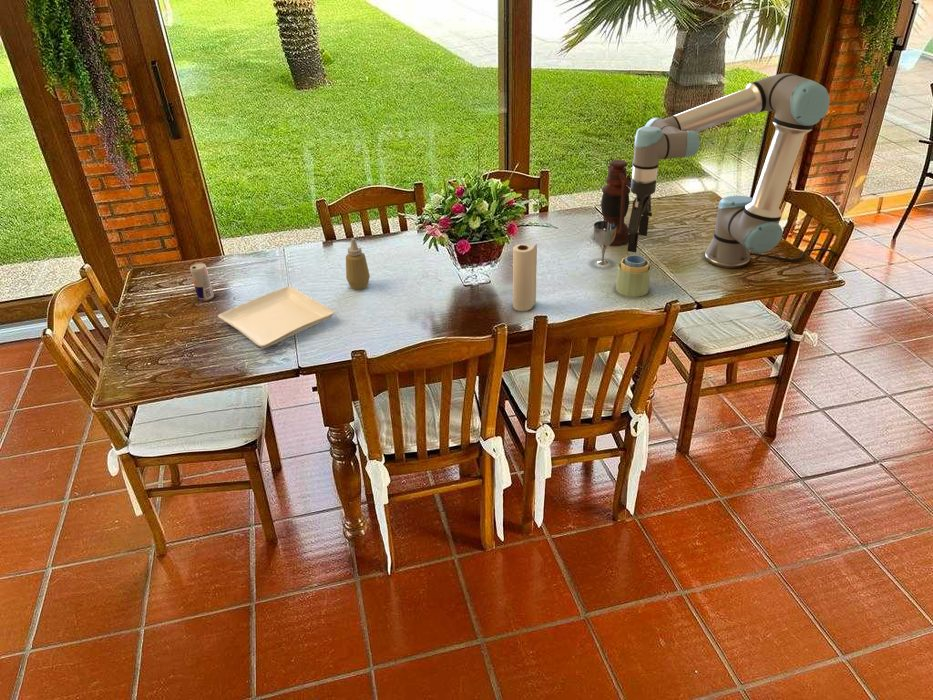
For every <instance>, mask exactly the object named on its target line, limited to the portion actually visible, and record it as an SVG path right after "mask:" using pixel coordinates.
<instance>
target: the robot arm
mask: <svg viewBox="0 0 933 700" xmlns="http://www.w3.org/2000/svg"><path fill="white" fill-rule="evenodd" d="M830 99H831V98H830V94H829V92H828V90H827V88H826V87H825V86H823V85H822V84H820V83H819V82H817V81H816V80H812V79H809V78H806V77H803V76H799V75H798V74H794V73H790V72H789V73H785V72H784V73H778V74H774V75H770V76H767V77H763V78H761V79H757V80H755V81H753V82H750V83H748V84H746V87H745V88H743V89H741V90H738V91H736V92H733V93H730V94H727V95H725V96H723V97H720V98H717V99H714V100H711V101H708V102H705V103H704V104H701V105H698V106H695V107H693V108H690V109H687V110H685V111H682V112H680V113H677V114H674V115H671V116H669V117H666V118H662V117H652V118H650V119H649V120H648V121H647V122H646V124H645V125H644V126H642V127H639V128H638V129H637V130H636V133H635V137H634V143H633V146H634V149H633V162H632V167H631V168H630V171H631V172H632V173H631V188H630V193H632V194H634V195H635V196H636V197H635V198H634V199H633V201H632V207H631V211H630V218H629V222H628V226H627V227H628V230H627V231H626V232H627V233H629V239H628V243H627V252H628V253H637V251H638V241H639V239H638V238H639V236H642V237H643V236H644V237H647V236H648V230H649V229H648V228H649V221H650V217H652V215H653V212H652V195H653V194H655V192H656V188H657V179H658V172H659V163H660V160H669V159H680V158H688V157H693V156H695V155H697V154H698V152H699V151H700V144H701V140H700V135H699V134H698V133H699V132H702V131H704V130H707V129H710V128H712V127H713V128H714V127H716V126H718V125H720V124H724V123H727V122H729V121H732V120H734V119H737V118H739V117H743V116H745V115H748V114H751V113H753V114H755V115H757V114H761V113H762V112H774V117H773V119H772V124H773V126H774V128H775V130H774V133H773V137H772V139H771V142H770V145H769V148H768V151H767V154H766V157H765V161H764V163H763V166H762V169H761V171H760V176H759V178H758V181H757V184H756V187H755V191H754V193H753V197H751V196H747V195H746V196H745V195H729V196H725V197H723V198H721V199H720V201H719V203H718V207H717V214H716V221H715V227H714V232H713V237H712V239H711V241H710V243H709V245H708V246H707V248H706V250H705V253H704V254H705V255H704V258H705V261H707V262H708V263H709V264H711V265H714V266H716V267H719V268H722V269H723V268H724V269H741V268H743V267H746V266H748V265H749V264H750V260H751V256H756V257H763V258H764V257H765V258H771V259H777V260H783V261H790V262H793V261H795V262H796V261H799V260H802V259H803V257H804V256H805V255H806V253H808V252H809V253H810V252H817V251H818V252H820V251H823V252H829V253H831V254H833V255H834V256H838V254H837V252H835V251H834V250H832V249H828V248H811V249H806V250H804V251H803V252H802V253H801V255H800V256H799V257H797V258H787V257H781V256H776V255H771V254H770V255H769V254H766V253H767V252H770V251H771V250H772V249H775V247H777V246H778V244H779V243H780V242H781V240H782V238H783V234H784V233H783V228H782V227H781V225H780V221H781V218H782V216H783V215H782V211H781V209H780V206H781V203H782V201H783V198H784V195H785V192H786V189H787V186H788V183H789V181H790V178H791V175H792V171H793V169H794V167H795V163H796V161H797V158H798V154H799V152H800V150H801V147H802V143H803V141H804V138H805V136H806V134H808V133H810V132H811V131H813V128H814V125H816V124H818V123H819V122H820V121H821V120H823V119H824V117H825V116H826V114H827V113H828V111H829V107H830V103H831V102H830V101H831V100H830Z"/></svg>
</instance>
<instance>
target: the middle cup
mask: <svg viewBox="0 0 933 700" xmlns="http://www.w3.org/2000/svg"><path fill="white" fill-rule="evenodd" d="M626 257H627V256H625V257H623V258H622V259H621V261H620V262H621V269H622V270H624V271H626V272H629V273H644V272H647V271H648V267H649V264H650V261H649V260H648V259H647V258H645V259H646V260H645V266H644V267H639V268H635V267H629V266H626V265H625V259H626Z"/></svg>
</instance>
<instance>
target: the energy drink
mask: <svg viewBox="0 0 933 700" xmlns="http://www.w3.org/2000/svg"><path fill="white" fill-rule="evenodd" d="M189 271H190V275H191V278H192V283H193V286H194V290H195V293H196V297H197V299H198V300H199V301H200V302H207V301H209V300H212V299H213V298H214V297H215V294H214V289H213V287H212V286H213V285H212V282H211V279H210V275H209V271H208V267H207V265H206V263H203V262H197V263H194V264H191V265H190V267H189Z"/></svg>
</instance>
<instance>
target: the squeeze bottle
mask: <svg viewBox="0 0 933 700" xmlns="http://www.w3.org/2000/svg"><path fill="white" fill-rule="evenodd" d="M345 272H346V273H345V274H346V275H345V277H346V280H347V283H348V284H349V286H350V288H351V289H352V290H355V291H360V290H364V289H366V288H368V286H369V281H370V277H371V275H370V271H369V267H368V262H367V258H366V254H365V253H364V252H363V250H362V247H361V246H359V245H358V244H357V241H356V238H355V237H353V238H351V240H350V247H348V248H347V254H346V256H345Z"/></svg>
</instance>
